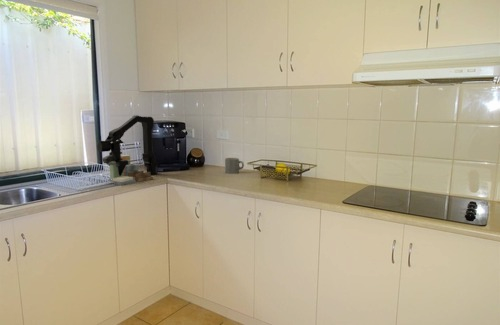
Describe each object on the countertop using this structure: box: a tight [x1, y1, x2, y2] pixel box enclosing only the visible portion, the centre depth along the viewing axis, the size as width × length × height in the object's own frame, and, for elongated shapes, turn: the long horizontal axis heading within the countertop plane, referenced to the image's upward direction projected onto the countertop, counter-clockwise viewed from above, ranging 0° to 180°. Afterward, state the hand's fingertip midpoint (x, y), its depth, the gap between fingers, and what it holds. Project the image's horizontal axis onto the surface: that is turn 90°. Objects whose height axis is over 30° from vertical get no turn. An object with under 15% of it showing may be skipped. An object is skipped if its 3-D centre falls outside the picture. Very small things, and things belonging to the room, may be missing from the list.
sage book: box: [109, 164, 124, 181], centre depth 218 cm, size 7×4×10 cm, turn 142°
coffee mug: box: [224, 157, 245, 175], centre depth 246 cm, size 13×10×10 cm
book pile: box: [112, 176, 136, 186], centre depth 208 cm, size 11×9×3 cm
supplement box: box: [121, 154, 131, 165], centre depth 237 cm, size 8×5×13 cm, turn 143°
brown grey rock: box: [124, 163, 154, 183], centre depth 222 cm, size 11×20×8 cm, turn 52°
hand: (117, 175), depth 218 cm, fingers open, 7 cm apart
